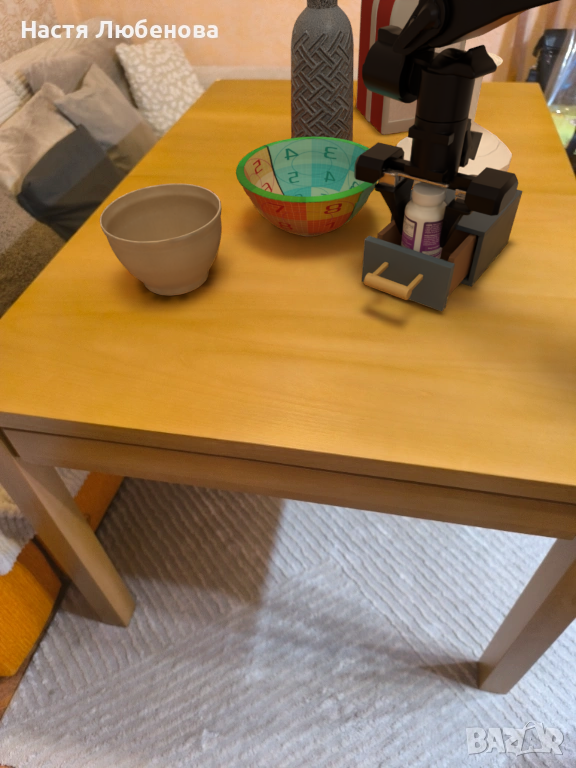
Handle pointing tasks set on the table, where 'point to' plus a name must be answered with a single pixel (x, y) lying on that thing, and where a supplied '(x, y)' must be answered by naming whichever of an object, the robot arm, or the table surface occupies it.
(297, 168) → the bowl
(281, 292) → the table surface
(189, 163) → the table surface
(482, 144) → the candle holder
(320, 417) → the table surface
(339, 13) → the vase
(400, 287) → the drawer
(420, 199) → the pill bottle
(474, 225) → the cabinet
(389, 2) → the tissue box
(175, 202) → the planter bowl
